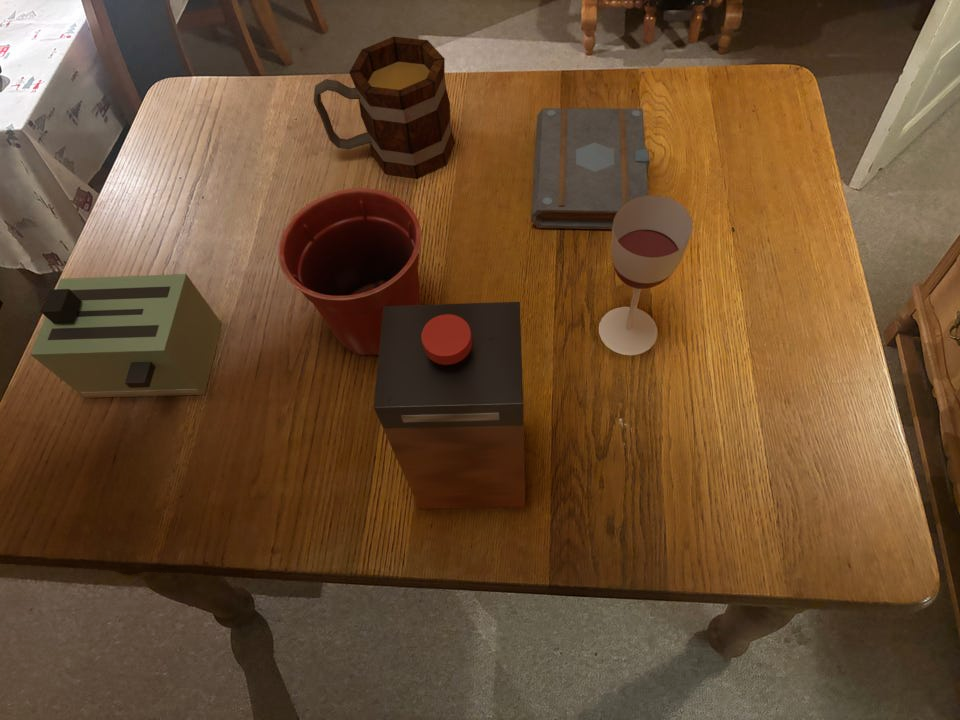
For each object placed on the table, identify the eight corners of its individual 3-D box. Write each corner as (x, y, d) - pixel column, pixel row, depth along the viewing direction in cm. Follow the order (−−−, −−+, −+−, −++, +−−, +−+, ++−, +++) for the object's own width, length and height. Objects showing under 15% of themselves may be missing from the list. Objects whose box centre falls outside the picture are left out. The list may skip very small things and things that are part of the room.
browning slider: (54, 324, 78) (40, 311, 76) (62, 302, 79) (49, 289, 77) (73, 323, 78) (60, 311, 75) (82, 301, 79) (69, 288, 77)
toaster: (77, 417, 84) (20, 375, 75) (109, 327, 91) (60, 278, 82) (200, 414, 83) (157, 371, 74) (222, 323, 90) (186, 273, 81)
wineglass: (584, 340, 85) (597, 237, 68) (617, 294, 89) (638, 184, 71) (639, 369, 83) (668, 269, 65) (671, 320, 86) (706, 213, 69)
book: (536, 129, 106) (537, 103, 101) (641, 130, 104) (646, 103, 100) (531, 229, 95) (531, 205, 91) (647, 232, 94) (653, 207, 89)
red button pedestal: (419, 510, 75) (373, 409, 53) (423, 429, 80) (383, 305, 58) (524, 508, 74) (523, 405, 52) (522, 426, 80) (519, 301, 57)
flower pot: (306, 371, 85) (264, 299, 72) (327, 270, 94) (292, 188, 80) (432, 372, 84) (413, 299, 70) (442, 270, 92) (427, 186, 79)
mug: (450, 114, 109) (439, 29, 96) (460, 172, 102) (450, 89, 89) (332, 131, 109) (306, 48, 96) (334, 190, 102) (305, 110, 89)
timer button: (422, 365, 53) (420, 356, 52) (424, 324, 55) (422, 314, 54) (472, 364, 53) (470, 355, 52) (472, 322, 55) (471, 313, 54)
